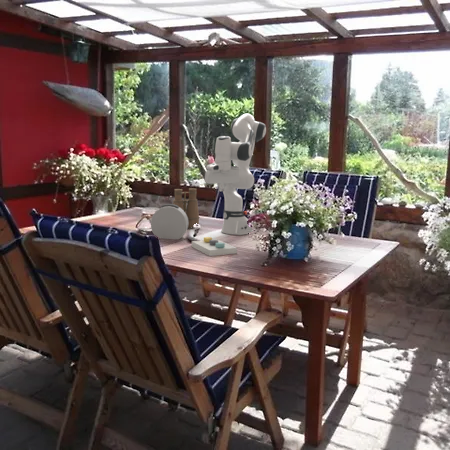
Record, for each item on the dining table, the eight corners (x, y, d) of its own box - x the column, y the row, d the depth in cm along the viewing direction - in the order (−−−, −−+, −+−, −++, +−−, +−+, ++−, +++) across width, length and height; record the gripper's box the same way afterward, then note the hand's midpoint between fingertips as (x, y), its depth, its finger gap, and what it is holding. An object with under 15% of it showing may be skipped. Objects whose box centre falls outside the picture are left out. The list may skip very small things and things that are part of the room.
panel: (217, 244, 299) (217, 239, 298) (236, 253, 280) (236, 247, 279) (191, 246, 291) (191, 241, 290) (209, 255, 272) (210, 250, 272)
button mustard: (209, 245, 295) (209, 236, 294) (213, 246, 290) (213, 238, 290) (201, 245, 292) (202, 237, 291) (205, 247, 288) (206, 239, 287)
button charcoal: (215, 247, 289) (215, 239, 288) (219, 249, 284) (219, 241, 284) (207, 248, 286) (207, 240, 285) (211, 250, 282) (212, 241, 281)
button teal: (221, 250, 283) (221, 242, 282) (225, 252, 278) (226, 244, 278) (213, 251, 280) (213, 242, 279) (217, 253, 276) (218, 244, 275)
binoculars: (194, 224, 353) (195, 187, 348) (202, 227, 345) (203, 189, 340) (167, 227, 341) (167, 188, 336) (174, 230, 333) (175, 190, 328)
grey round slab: (188, 237, 315) (189, 204, 311) (186, 239, 308) (186, 206, 304) (153, 235, 317) (153, 202, 313) (150, 237, 310) (150, 204, 306)
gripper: (236, 165, 296) (235, 189, 299) (203, 166, 287) (203, 191, 289) (242, 166, 291) (241, 191, 294) (209, 167, 281) (208, 192, 284)
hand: (222, 191), depth 292 cm, fingers closed
